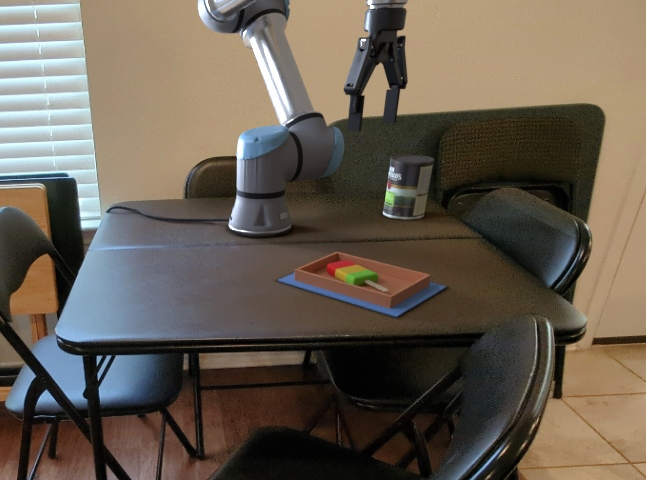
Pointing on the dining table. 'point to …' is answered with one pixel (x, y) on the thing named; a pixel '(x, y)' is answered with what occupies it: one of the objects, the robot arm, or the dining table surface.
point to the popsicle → (353, 274)
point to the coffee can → (407, 186)
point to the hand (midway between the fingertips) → (372, 127)
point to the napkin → (393, 311)
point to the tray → (389, 277)
